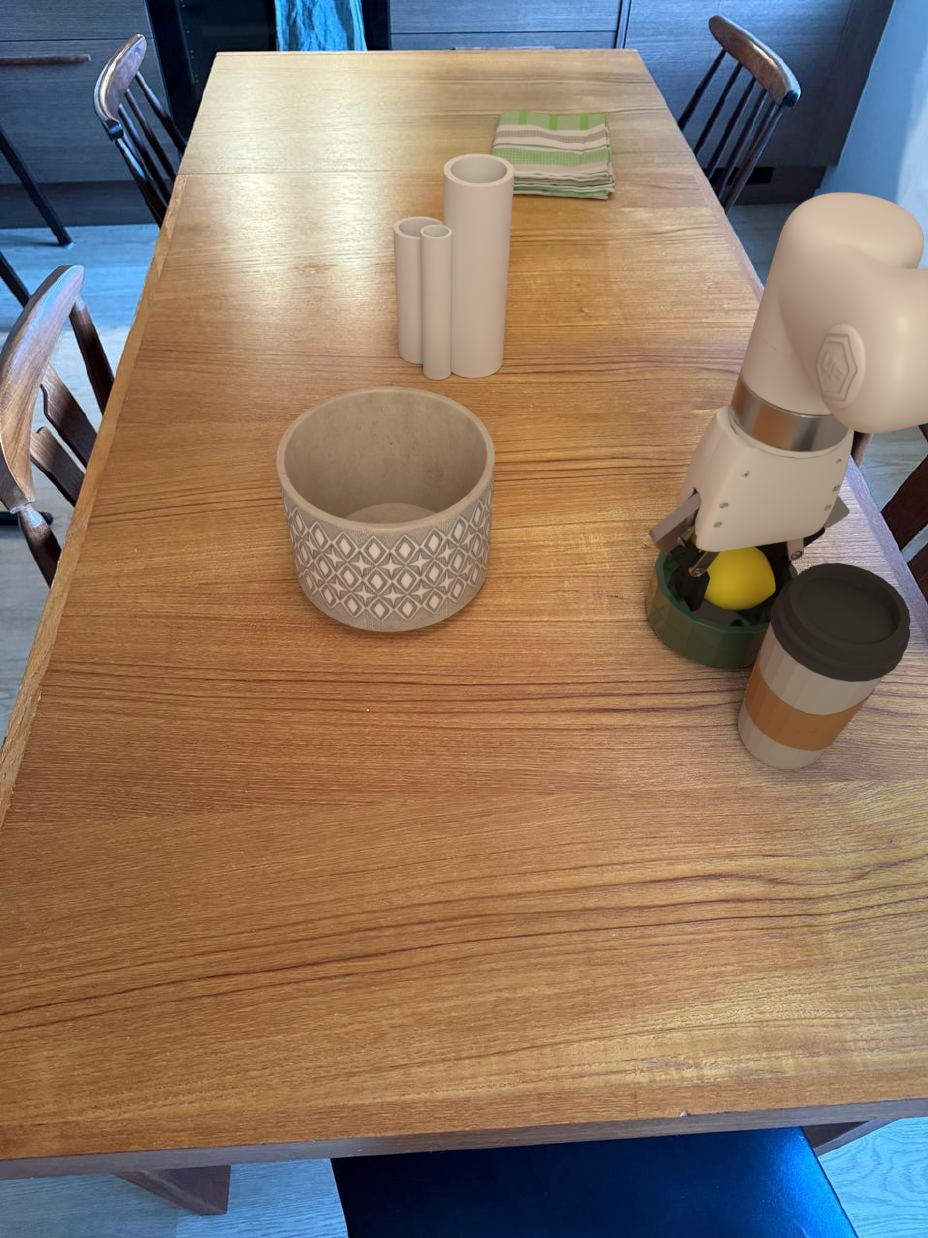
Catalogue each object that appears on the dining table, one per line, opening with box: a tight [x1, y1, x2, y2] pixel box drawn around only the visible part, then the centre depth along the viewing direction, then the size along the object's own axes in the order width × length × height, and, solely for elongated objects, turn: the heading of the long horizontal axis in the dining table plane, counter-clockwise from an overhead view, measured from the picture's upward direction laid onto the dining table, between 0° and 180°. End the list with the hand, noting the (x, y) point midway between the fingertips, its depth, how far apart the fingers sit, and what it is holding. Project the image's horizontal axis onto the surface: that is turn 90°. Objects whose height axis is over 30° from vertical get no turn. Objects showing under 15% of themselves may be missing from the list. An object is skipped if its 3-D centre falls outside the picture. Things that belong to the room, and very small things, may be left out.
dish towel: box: [490, 110, 617, 200], centre depth 126 cm, size 17×23×4 cm
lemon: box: [699, 547, 775, 610], centre depth 70 cm, size 7×5×5 cm
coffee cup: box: [737, 562, 911, 770], centre depth 61 cm, size 8×8×15 cm
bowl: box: [645, 529, 799, 669], centre depth 72 cm, size 11×11×5 cm
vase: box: [392, 153, 514, 381], centre depth 88 cm, size 11×7×20 cm, turn 89°
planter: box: [275, 385, 496, 633], centre depth 72 cm, size 16×16×13 cm
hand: (726, 589), depth 71 cm, fingers closed on lemon, 5 cm apart
